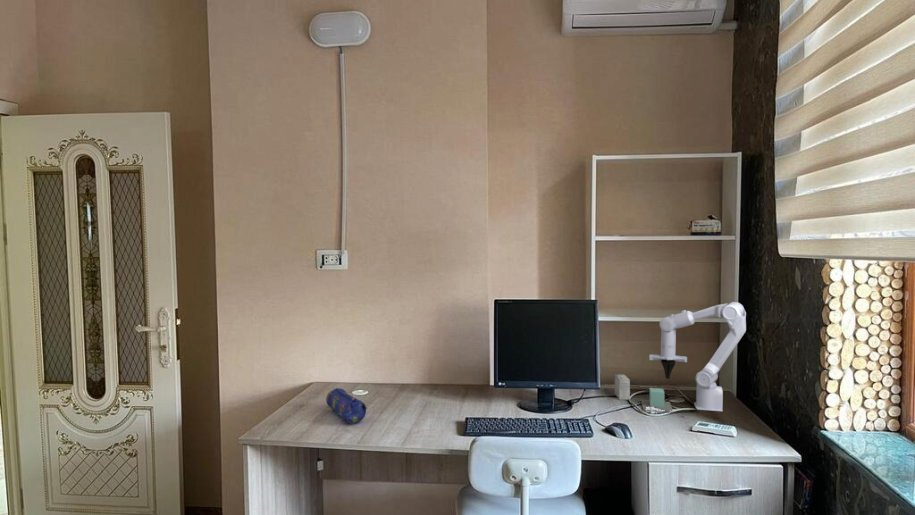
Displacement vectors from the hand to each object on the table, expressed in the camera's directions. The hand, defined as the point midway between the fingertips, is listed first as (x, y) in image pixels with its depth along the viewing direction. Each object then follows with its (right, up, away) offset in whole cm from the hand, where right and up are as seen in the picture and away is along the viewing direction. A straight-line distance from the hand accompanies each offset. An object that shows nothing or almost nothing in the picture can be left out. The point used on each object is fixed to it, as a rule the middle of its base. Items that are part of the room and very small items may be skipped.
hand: (667, 377), depth 233 cm
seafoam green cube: (-7, -9, -8) cm, 14 cm away
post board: (-7, -10, -8) cm, 15 cm away
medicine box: (-17, -9, +5) cm, 20 cm away
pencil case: (-130, -12, -17) cm, 132 cm away
